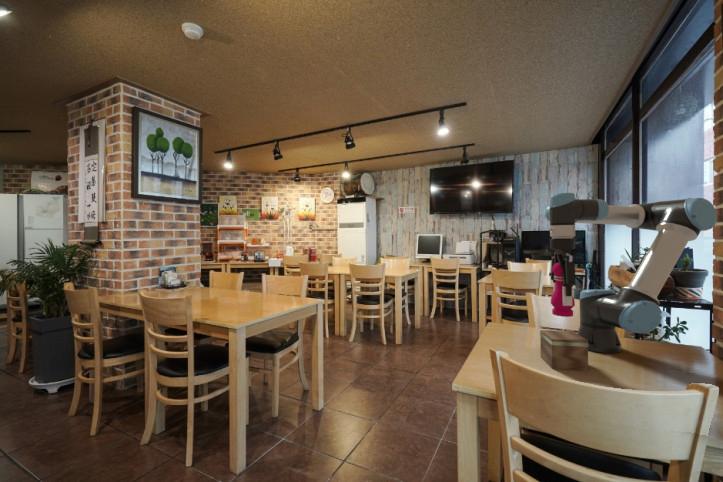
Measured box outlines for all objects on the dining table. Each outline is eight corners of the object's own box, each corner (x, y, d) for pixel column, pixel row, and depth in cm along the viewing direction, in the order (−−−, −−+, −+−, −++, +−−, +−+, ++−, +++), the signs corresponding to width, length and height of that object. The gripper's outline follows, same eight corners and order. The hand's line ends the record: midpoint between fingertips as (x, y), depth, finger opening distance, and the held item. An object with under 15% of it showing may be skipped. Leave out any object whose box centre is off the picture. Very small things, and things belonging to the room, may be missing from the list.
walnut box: (573, 358, 121) (573, 331, 120) (588, 370, 110) (588, 340, 109) (540, 356, 123) (540, 330, 122) (551, 368, 112) (551, 339, 111)
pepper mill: (578, 317, 112) (578, 258, 111) (555, 316, 113) (554, 258, 113) (569, 312, 119) (569, 257, 118) (547, 312, 120) (547, 257, 120)
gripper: (540, 237, 126) (540, 297, 126) (562, 237, 106) (562, 309, 107) (562, 237, 125) (562, 298, 125) (588, 237, 105) (588, 309, 105)
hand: (562, 303), depth 116 cm, fingers closed on pepper mill, 7 cm apart
